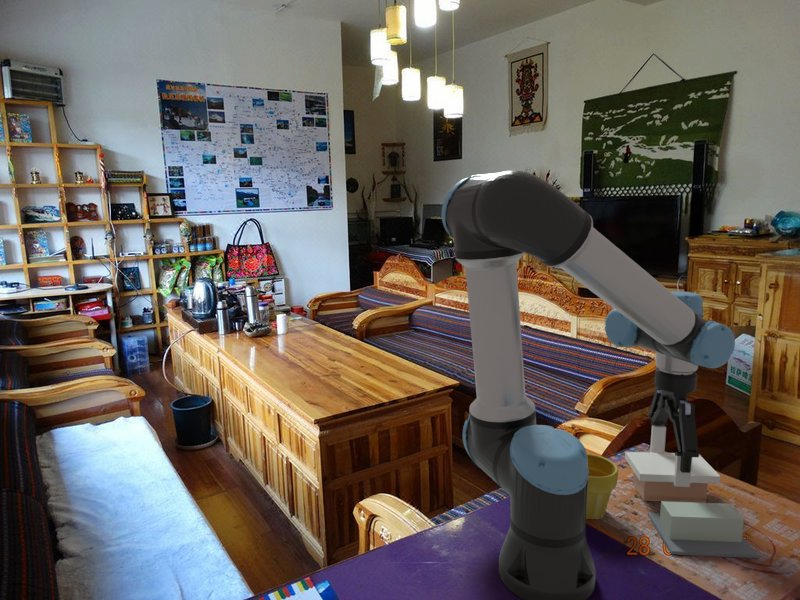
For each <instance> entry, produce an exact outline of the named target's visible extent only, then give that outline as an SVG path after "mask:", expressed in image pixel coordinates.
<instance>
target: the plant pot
mask: <svg viewBox="0 0 800 600" xmlns="http://www.w3.org/2000/svg"><path fill="white" fill-rule="evenodd" d="M587 459H588V469H589V476H588V489H587V507H586V520H588V519H596V518H600V519H602V518H603V517H604V516H605V515H604V514H606V511H607V509H608V508H607V507H608V505H609V501H610V499H611V498H610V497H611V496H612V495H611V494H612V491H613V490H614V489H616V487H617V485H618V476H619V470H618V465H616V464H615V463H614V462H613V461H612V460H610V459H608V458H606V457H605V456H601V455H598V454H593V453H587ZM602 516H603V517H602ZM601 517H602V518H601ZM596 520H597V519H596Z"/></svg>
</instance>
